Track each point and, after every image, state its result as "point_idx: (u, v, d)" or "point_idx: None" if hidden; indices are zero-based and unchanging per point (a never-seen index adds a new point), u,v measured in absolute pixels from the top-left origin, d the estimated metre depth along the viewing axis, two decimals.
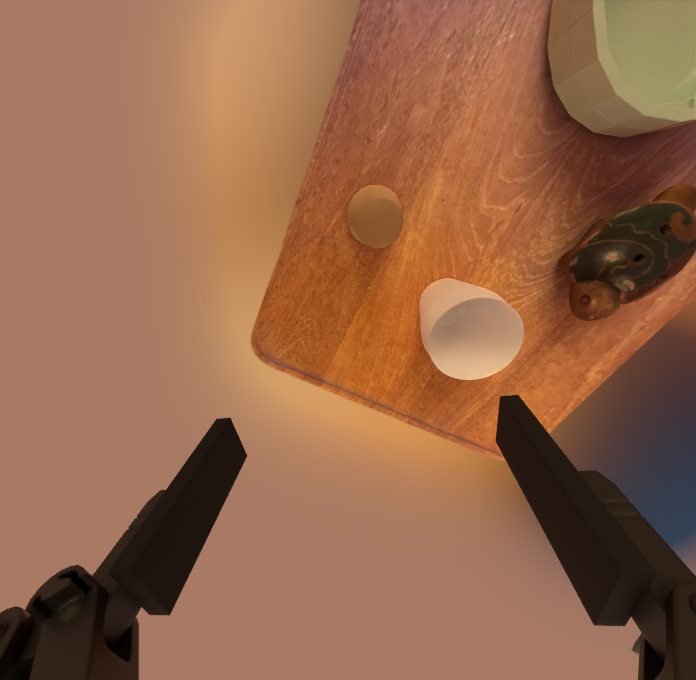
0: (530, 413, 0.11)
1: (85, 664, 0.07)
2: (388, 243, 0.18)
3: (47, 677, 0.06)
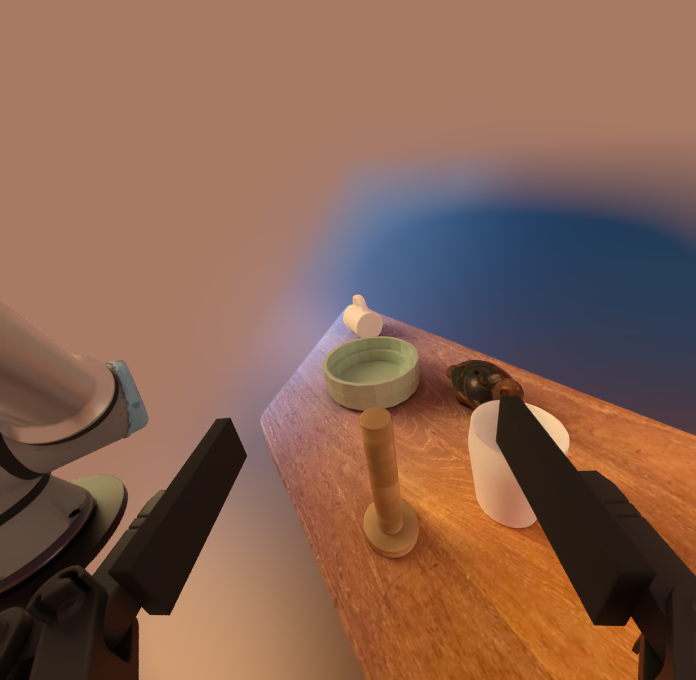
0: (530, 413, 0.11)
1: (85, 664, 0.07)
2: (390, 416, 0.25)
3: (47, 677, 0.06)
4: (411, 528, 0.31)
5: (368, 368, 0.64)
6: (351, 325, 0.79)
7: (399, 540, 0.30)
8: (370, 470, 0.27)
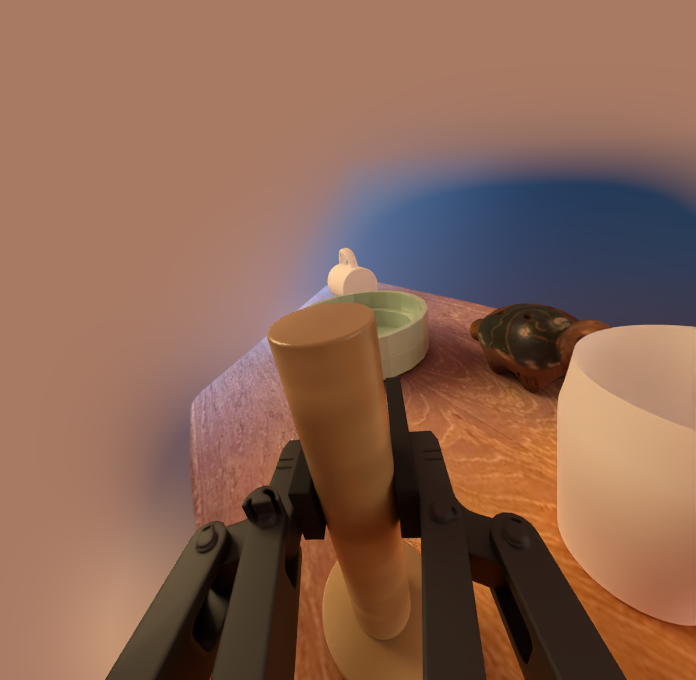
0: (401, 390, 0.14)
1: (273, 582, 0.07)
2: (370, 313, 0.07)
3: (248, 572, 0.08)
4: None
5: None
6: (337, 287, 0.61)
7: (402, 658, 0.12)
8: (318, 493, 0.09)
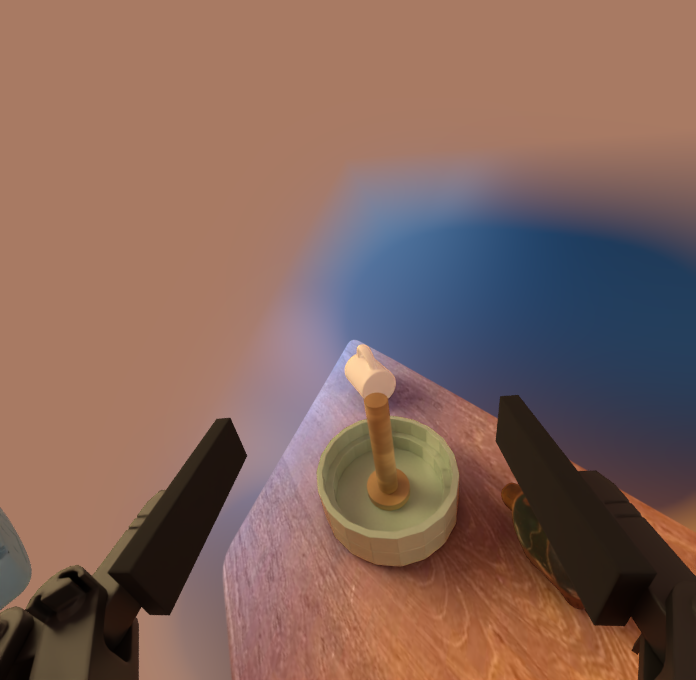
0: (530, 413, 0.11)
1: (85, 664, 0.07)
2: (386, 398, 0.34)
3: (47, 677, 0.06)
4: (404, 489, 0.40)
5: None
6: (355, 385, 0.61)
7: (394, 497, 0.39)
8: (372, 440, 0.36)
